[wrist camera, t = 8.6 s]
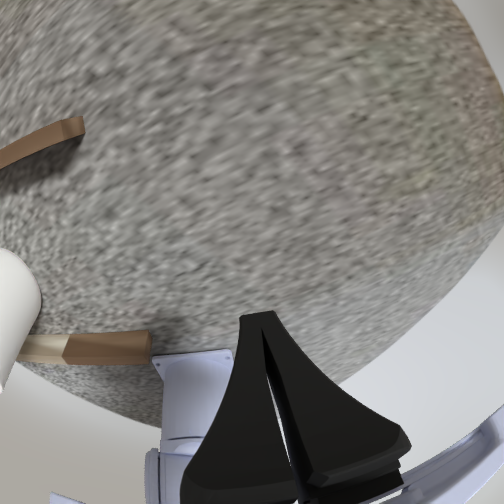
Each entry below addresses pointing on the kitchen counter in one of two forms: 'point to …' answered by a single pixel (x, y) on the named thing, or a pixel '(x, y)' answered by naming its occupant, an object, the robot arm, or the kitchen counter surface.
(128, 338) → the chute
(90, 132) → the kitchen counter surface
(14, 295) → the cup
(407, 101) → the kitchen counter surface
